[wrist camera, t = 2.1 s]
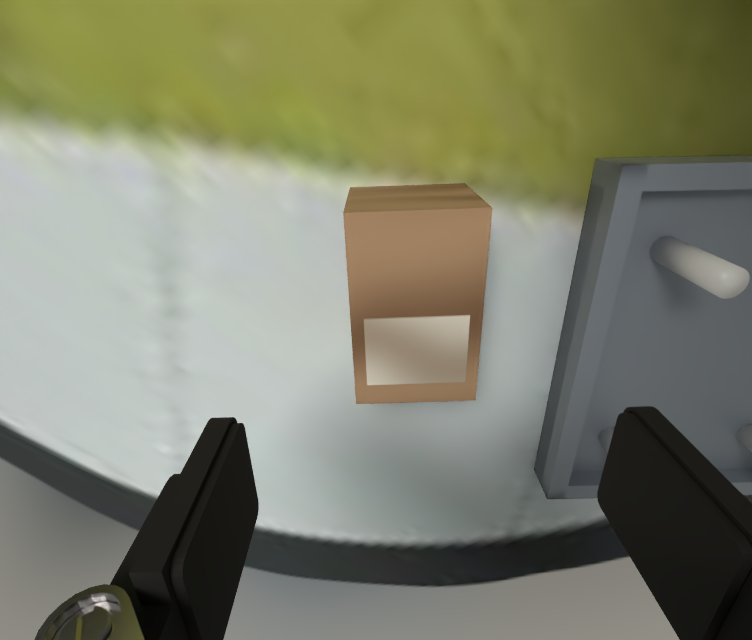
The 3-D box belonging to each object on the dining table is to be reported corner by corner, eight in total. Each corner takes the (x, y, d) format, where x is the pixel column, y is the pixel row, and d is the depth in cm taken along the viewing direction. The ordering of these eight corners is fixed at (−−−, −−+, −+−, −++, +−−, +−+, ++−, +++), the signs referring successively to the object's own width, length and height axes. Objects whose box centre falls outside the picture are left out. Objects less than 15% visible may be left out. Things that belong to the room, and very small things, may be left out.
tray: (596, 158, 18) (672, 176, 14) (925, 151, 18) (1112, 167, 14) (534, 469, 26) (568, 547, 22) (762, 464, 26) (845, 542, 22)
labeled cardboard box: (350, 186, 19) (343, 213, 14) (463, 182, 19) (492, 208, 14) (359, 344, 23) (356, 405, 18) (454, 341, 23) (475, 401, 18)
